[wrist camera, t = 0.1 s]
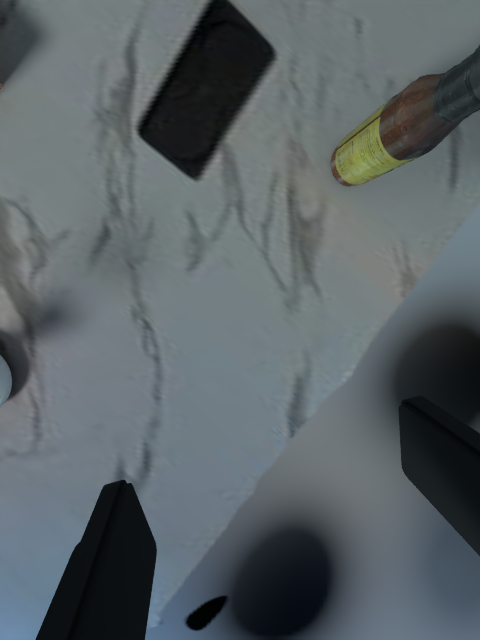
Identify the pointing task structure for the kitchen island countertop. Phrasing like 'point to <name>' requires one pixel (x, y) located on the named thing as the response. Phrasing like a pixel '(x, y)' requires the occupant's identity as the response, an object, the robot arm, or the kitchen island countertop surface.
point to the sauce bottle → (409, 123)
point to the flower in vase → (4, 381)
